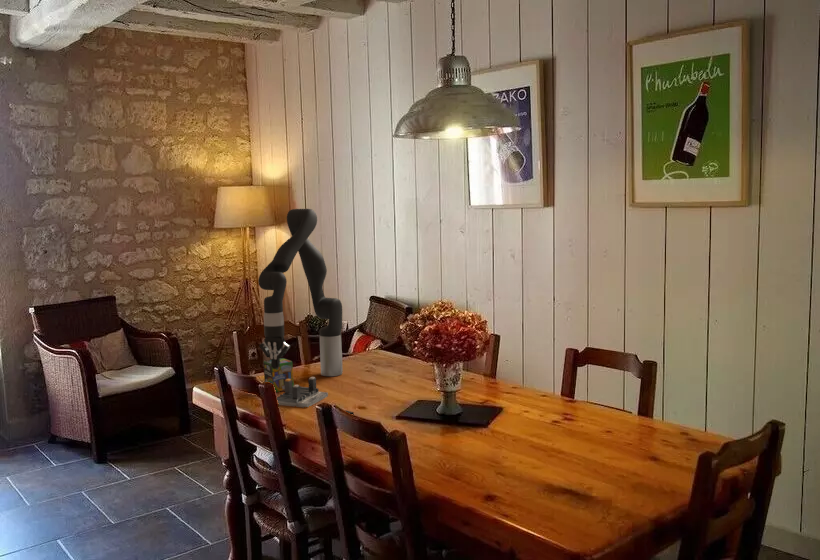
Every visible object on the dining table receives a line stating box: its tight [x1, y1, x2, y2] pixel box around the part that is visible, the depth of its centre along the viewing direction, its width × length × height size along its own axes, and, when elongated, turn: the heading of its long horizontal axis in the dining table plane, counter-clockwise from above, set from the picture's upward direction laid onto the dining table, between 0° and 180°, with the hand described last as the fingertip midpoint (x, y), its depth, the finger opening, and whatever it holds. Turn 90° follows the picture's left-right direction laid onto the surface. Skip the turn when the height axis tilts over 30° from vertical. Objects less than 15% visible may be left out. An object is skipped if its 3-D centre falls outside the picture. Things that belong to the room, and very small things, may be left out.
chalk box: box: [262, 357, 295, 393], centre depth 298 cm, size 9×9×15 cm
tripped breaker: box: [284, 379, 293, 394], centre depth 284 cm, size 2×2×6 cm
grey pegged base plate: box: [277, 376, 329, 408], centre depth 282 cm, size 17×15×8 cm
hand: (275, 368), depth 285 cm, fingers closed
